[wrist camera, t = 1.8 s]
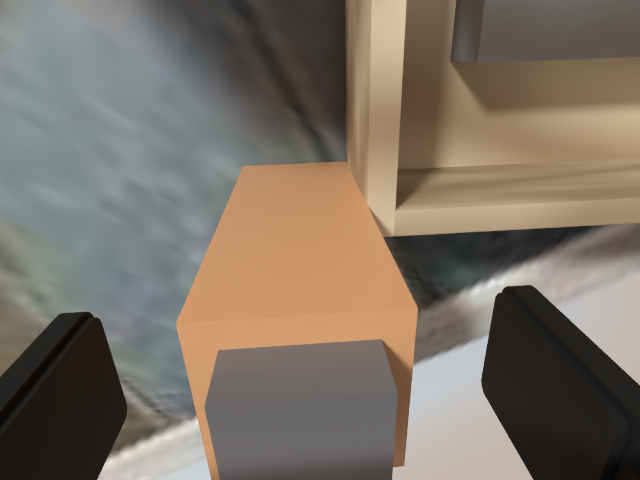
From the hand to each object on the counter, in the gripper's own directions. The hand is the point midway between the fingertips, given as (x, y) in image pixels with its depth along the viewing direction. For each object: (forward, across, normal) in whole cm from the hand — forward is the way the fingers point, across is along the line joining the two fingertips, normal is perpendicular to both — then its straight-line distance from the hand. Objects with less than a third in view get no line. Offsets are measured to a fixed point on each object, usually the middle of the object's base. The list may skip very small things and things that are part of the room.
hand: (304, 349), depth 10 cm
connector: (+8, 0, -1) cm, 8 cm away
